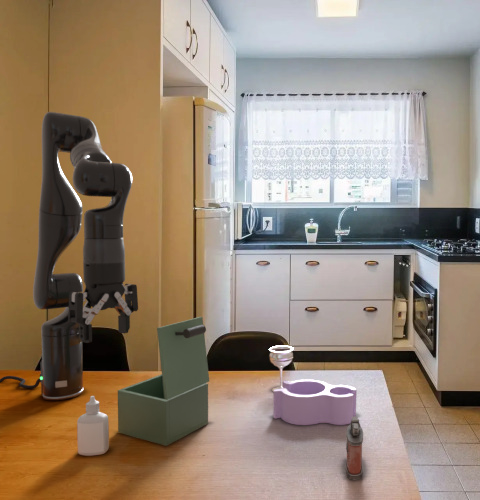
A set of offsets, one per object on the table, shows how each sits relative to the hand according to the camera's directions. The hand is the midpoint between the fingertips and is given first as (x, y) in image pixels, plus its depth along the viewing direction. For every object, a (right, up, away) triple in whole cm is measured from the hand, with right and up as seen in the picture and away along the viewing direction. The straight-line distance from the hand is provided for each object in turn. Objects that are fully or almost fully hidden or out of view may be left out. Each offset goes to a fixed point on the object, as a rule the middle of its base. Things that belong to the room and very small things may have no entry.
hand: (105, 337), depth 102 cm
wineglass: (+29, -22, +39) cm, 54 cm away
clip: (+41, -24, +22) cm, 52 cm away
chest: (+7, -24, +13) cm, 28 cm away
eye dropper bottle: (-3, -24, +1) cm, 25 cm away
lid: (+13, -6, +9) cm, 17 cm away
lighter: (+52, -26, -3) cm, 58 cm away
